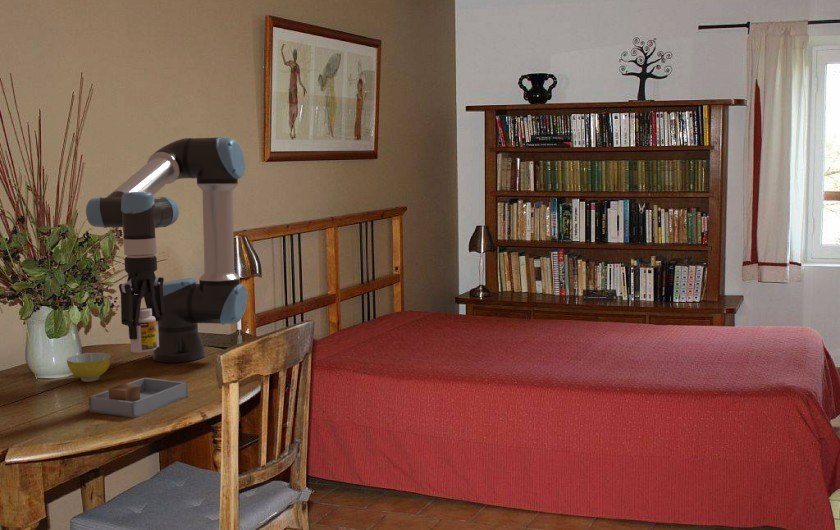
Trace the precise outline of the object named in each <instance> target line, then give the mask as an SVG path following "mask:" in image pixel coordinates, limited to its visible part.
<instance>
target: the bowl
mask: <svg viewBox="0 0 840 530" xmlns="http://www.w3.org/2000/svg"><path fill="white" fill-rule="evenodd" d="M111 362H112V355H111V354H110V353H105V352H87V353H80V354H76V355H72V356H69V357H67V358H66V363H67V364H66V365H67V367H68V369H69V371H70V372H71V373H72V374H74V376H76V377H78V378H80V380H81V381H82V382H85V383H87V382H96V381H98V380H99V379H100V376H102V375H103V374H104V373H105V372H106V371H107V370H108V369H109V367H110V365H111Z"/></svg>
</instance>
